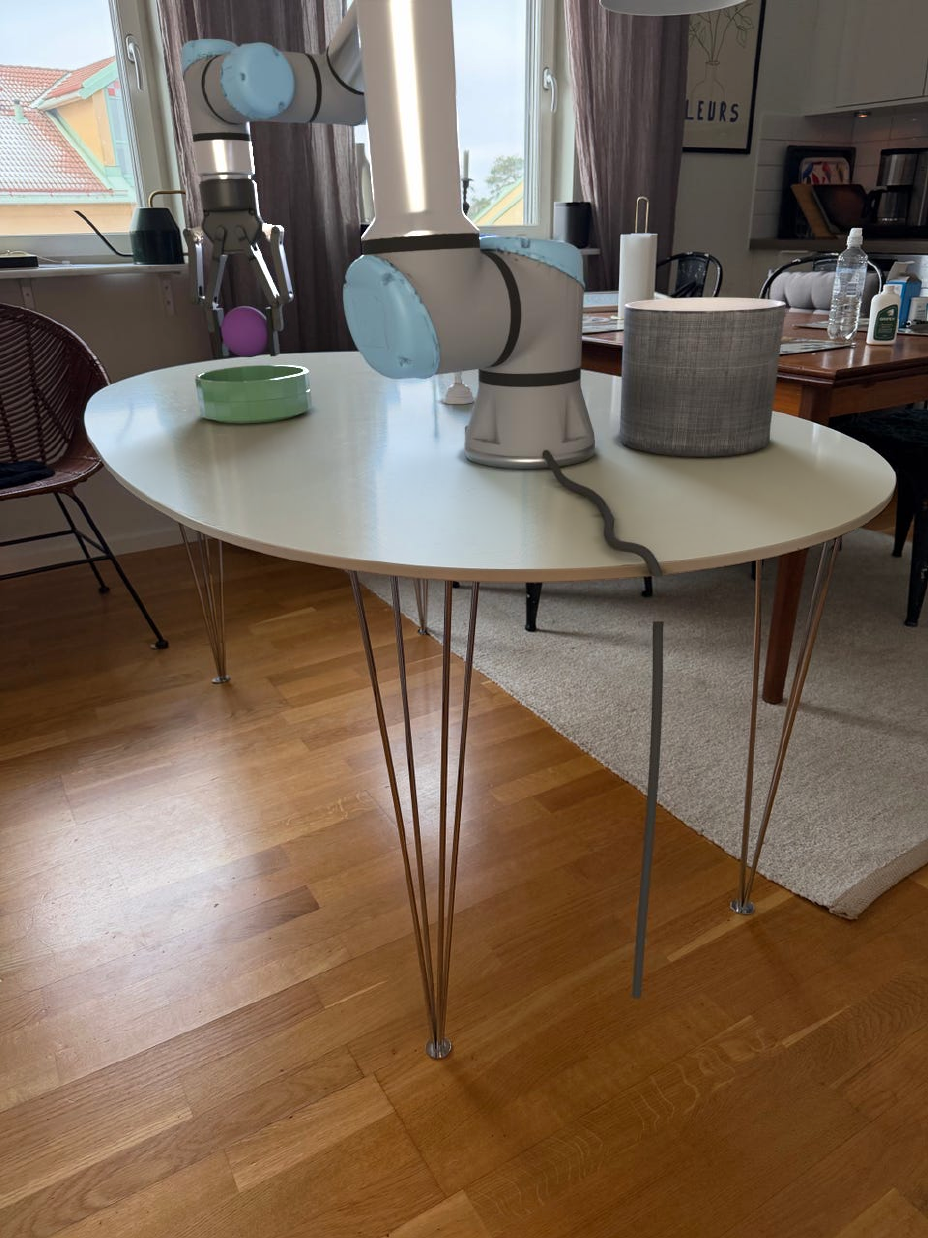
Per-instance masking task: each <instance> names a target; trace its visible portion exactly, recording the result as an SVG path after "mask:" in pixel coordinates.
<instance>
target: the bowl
mask: <svg viewBox="0 0 928 1238" xmlns="http://www.w3.org/2000/svg"><path fill="white" fill-rule="evenodd" d="M194 380H195V381H194V382H195V387H196V394H197V400H198V406H199V414H200V417H202V418H204V419H206V420H212V421H213V420H214V421H216V422H220V423H224V424H225V423H226V424H259V423H268V422H270V423H271V422H277V421H281V420H287V419H291V418H294V417H296V416H298V415H300V414H304V413H306V412H308V411H309V410H310V409H312V408H313V403H312V394H311V393H312V392H311V384H310V375H309V369H307V368H306V367H303V366H298V365H290V364H289V365H288V364H261V365H260V364H259V365H257V364H256V365H244V366H243V365H242V366H233V367H225V368H224V367H223V368H218V369H213V370H208V371H204V372H201V373H198V374H197V375H195V376H194Z"/></svg>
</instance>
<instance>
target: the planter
mask: <svg viewBox="0 0 928 1238" xmlns="http://www.w3.org/2000/svg"><path fill="white" fill-rule="evenodd" d="M786 306H787V303H786V302H784V301H781V300H776V299H767V298H754V297H753V298H752V297H677V298H676V297H675V298H674V297H673V298H659V299H658V298H657V299H646V300H638V301H632V302H628V303H625V304H624V309H623V333H622V335H623V336H622V360H621V385H620V386H621V387H620V388H621V390H620V391H621V393H620V414H619V429H618V439H619V441H620V442H621V444H623V445H624V446H626V447H628V448H631V449H633V450H637V451H641V452H646V453H650V454H656V455H662V456H672V457H683V458H685V457H686V458H717V457H719V458H720V457H730V456H737V455H742V454H749V453H753V452H756V451H759V450H762V449H763V448H765V447H767V446H768V445H769V444H770V438H771V427H772V425H771V424H772V417H773V409H774V402H775V401H774V400H775V395H776V386H777V378H778V371H779V363H780V354H781V347H782V341H783V340H782V339H783V330H784V324H785V315H786V308H787V307H786Z"/></svg>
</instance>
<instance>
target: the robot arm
mask: <svg viewBox="0 0 928 1238" xmlns="http://www.w3.org/2000/svg"><path fill="white" fill-rule="evenodd" d="M452 3H453V1H452V0H352V1H351V4H350V6H349V7H348V10H347V11H346V13H345V15H344V17H343V18H342V21H341V23H340V24H339V26H338V28H337V29H336V31H335V33H334V35H333V37H332V39H331V40H330V42H329V44H328V45H327V47H326V49H325V50H324V52H323V53H321V54H320V53H319V54H317V53H308V52H307V53H306V52H295V51H293V52H292V51H284V50H279V49H277V48H276V47H274V46H273V45H271V44H269V43H267V42H252V43H250V42H247V43H242V44H241V45H240V46H238V45H237V44H236V43H235V42H233V41H230V40H226V39H220V38H219V39H218V38H199V39H195V40H189V41H187V42H185V43H184V44H183V45H182V47H181V52H180V53H181V65H182V66H181V67H182V73H181V76H182V80H183V83H184V89H185V90H184V91H185V97H186V102H187V110H188V117H189V123H190V131H191V137H192V142H193V151H194V158H195V166H196V174H197V176H198V177H201V178H202V180H201V181H199V183H198V188H199V196H200V202H201V209H202V220H201V224H200V225H198V226H195V227H192V228H191V227H190V228H189V227H188V228H183V230H182V235H183V238H184V239H183V240H184V241H185V245H186V247H187V266H188V285H189V286H188V287H189V302H190V304H192V305H193V306H198V307H200V308H203V310H204V313H205V320H206V326H207V330H208V332H209V333H210V334H212V333H213V334H214V337H215V343H216V351H217V358H225V357H227V356H229V354H230V353H229V348H228V347H227V346H226V344H225V343H224V341H223V338H222V334H221V326H222V322H223V319H224V317H225V315H224V309H223V307H218V306H219V304H218V301H219V295H220V291H221V286H222V280H223V275H224V272H225V266H226V262H227V259H228V255H233V254H239V255H243V254H245V257H246V259H247V260H248V261H249V264H250V266H251V267H252V270H253V272H254V275H255V276H256V278H257V280H258V283H259V285H260V287H261V289H262V291H263V293H264V296H265V298H266V301H267V302H268V304H269V305H268V307H265V308H264V313H265V314H264V316H265V317H266V324H267V333H268V341H269V345H268V349H269V356H270V357H278V356H279V355H280V354H281V352H280V344H279V343H280V342H279V334H278V332H282V331H283V330H284V326H285V325H284V318H283V306H284V305H285V304H287V303H290V302H293V299H294V293H293V287H292V283H291V277H290V273H289V268H288V263H287V259H286V258H287V257H286V253H285V250H284V245H283V244H284V243H283V242H284V237H285V236H284V234H285V230H284V229H285V228H284V227H283V226H282V225H272V224H267V223H265V222H264V220H263V219H262V217H261V214H260V208H259V200H258V199H259V198H258V191H257V189H258V188H257V183H256V182H255V180H253V179H252V176H254V175H255V165H254V156H253V146H252V139H251V137H252V136H251V131H250V123H251V122H272V123H273V122H275V123H277V122H278V123H299V124H300V123H302V124H323V125H324V124H325V125H341V126H347V127H358V126H366V131H367V133H366V134H367V145H368V154H369V165H370V176H371V189H372V199H373V200H372V201H373V209H374V210H373V211H374V218H373V220H372V222H371V224H369V226H368V227H367V229H366V230H365V232H364V233H363V234H362V236H361V238H360V239H361V241H360V242H361V250H362V255H361V256H359V257H358V258H357V259H355V260H354V261H353V262H352V263H351V264H350V265H349V267H348V268H347V270H346V272H345V273H346V274H345V276H344V278H345V281H346V282H345V283H344V284H343V289H342V290H343V291H342V299H343V300H342V301H343V310H344V316H345V319H346V324H347V328H348V330H349V333H350V335H351V338H352V341H353V342H354V345H355V347H356V349H357V350H358V352H359V354H360V355H362V357H363V358H364V360H365V362H366V363H367V364H368V365H369V367H371V369H372V370H374V371H375V372H377V374H379V375H381V376H383V377H386V378H388V379H394V380H403V379H404V380H406V379H419V380H420V379H421V380H427V379H430V378H432V377H434V376H438V375H445V374H452V373H453V374H454V372H461V371H462V372H468V371H474V370H477V371H478V375H477V377H478V379H477V380H478V385H477V386H478V387H477V393H476V397H475V398H474V399H475V401H474V402H473V406H472V410H471V414H470V417H469V420H468V424H467V425H465V426H464V442H463V446H464V456H465V458H466V459H468V460H469V461H471V462H473V463H477V464H479V465H484V466H489V467H493V468H494V467H495V468H502V469H516V470H517V469H520V470H521V469H522V470H523V469H524V470H526V469H528V470H529V469H530V470H531V469H532V470H533V469H549V468H550V470H551V471H552V473H553V475H554V477H555V479H556V480H557V481H558V483H559V484H561V485H562V486H563V487H564V488H566V489H568V490H570V491H572V492H575V493H577V494H579V495H582V496H584V497H586V498H588V500H590V501H591V502H592V503H593V504H595V506H596V507H597V508H598V510H599V511H600V513H601V516H602V518H603V521H604V527H603V536H604V538H605V541H606V543H607V544H608V545H609V546H610V547H611V548H612V549H614V550H616V551H619V552H624V553H630V554H634V555H637V556H639V557H640V558H641V559H642V560H643V561H644V562H645V564H646V565H647V567H648V570H649V572H650V575H651V576H652V577H656V578H661V577H663V576H664V575H663V571H662V569H661V566H660V564H659V561H658V559H657V557H656V556H655V554H654V553H653V552H652V551H651V550H650V549H649V548H648V547H646V546H644V545H642V544H639V543H636V542H631V541H626V540H625V541H624V540H620V539H619V538H618V537H616V534H615V530H614V529H615V517H614V515H613V513H612V511H611V509H610V508H609V505H608V504H607V502H606V501H605V499H603V497H602V496H600V495H599V493H597V492H596V491H595V490H592V489H591V488H589V487H587V486H584V485H582V484H579V483H577V482H574V481H572V479H569V478H568V477H566V476H565V474H564V473H563V472H562V470H561V468H560V467H566V466H570V465H571V466H572V465H574V464H575V465H576V464H578V463H582V462H585V461H587V460H589V459H591V458H592V457H594V455H595V450H596V440H595V432H594V428H593V425H592V421H591V418H590V414H589V411H588V407H587V404H586V401H585V396H584V393H583V390H582V384H581V383H582V382H581V381H582V378H581V377H582V353H583V352H582V349H583V346H582V345H583V323H584V320H583V319H584V298H585V297H584V296H585V290H586V283H585V281H584V259H583V256H582V253H581V252H580V250H579V248H578V247H577V246H575V245H573V244H572V243H568V242H564V241H558V240H552V239H545V238H536V237H535V238H533V237H527V238H526V237H522V236H521V237H520V236H505V235H504V236H501V235H487V236H481V235H480V229H479V228H478V227H477V226H476V225H475V224H474V223H473V222H472V221H471V220H470V219H469V217H468V216H466V213H464V210H463V209H464V207H463V192H462V191H463V188H462V170H461V152H460V151H461V149H460V134H459V133H460V131H459V113H458V96H457V76H456V75H457V74H456V57H455V37H454V36H455V35H454V20H453V18H454V17H453V4H452ZM263 233H264V235H265V239H266V240H267V242H268V243H269V246H270V252H271V257H272V262H273V266H274V272H275V275H276V280H277V286H278V290H279V292H278V290H277V287H276V285H275V283H274V282H273V279H272V276H271V275H270V272H269V270H268V268H267V265H266V263H265V261H264V259H263V256H262V253H261V251H260V249H259V246H258V242H259V240H260V238H261V236H262V234H263ZM204 235H205V236H206V237H207V239H208V240H209V241H210V243H211V244H212V245H213V246H212V251H211V261H210V267H209V272H208V278H207V283H206V288H205V293H204V270H203V269H204V268H203V247H202V244H203V242H204ZM664 623H665V622H664V620H661V621H660V620H659V621H657V620H655V621H654V620H653V621H652V676H651V677H652V682H651V691H652V692H651V716H650V717H651V719H650V720H651V721H650V724H651V725H650V742H649V743H650V744H649V763H648V777H647V778H648V779H647V792H646V793H647V794H646V809H645V822H644V833H643V834H644V835H643V848H642V858H641V871H640V872H641V873H640V883H639V884H640V885H639V896H638V907H637V919H636V934H635V946H634V947H635V948H634V959H633V961H634V963H633V976H632V977H633V979H632V992H631V993H632V995H631V996H632V998H633V999H635V1000H640V999H641V998H642V987H643V974H644V973H643V971H644V959H645V958H644V957H645V947H646V946H645V945H646V933H647V922H648V910H649V898H650V888H651V887H650V886H651V876H652V866H653V865H652V864H653V853H654V852H653V851H654V843H655V828H656V819H657V805H658V790H659V778H660V777H659V776H660V760H661V746H662V745H661V744H662V725H663V724H662V721H663V695H664V693H663V688H664Z"/></svg>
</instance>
